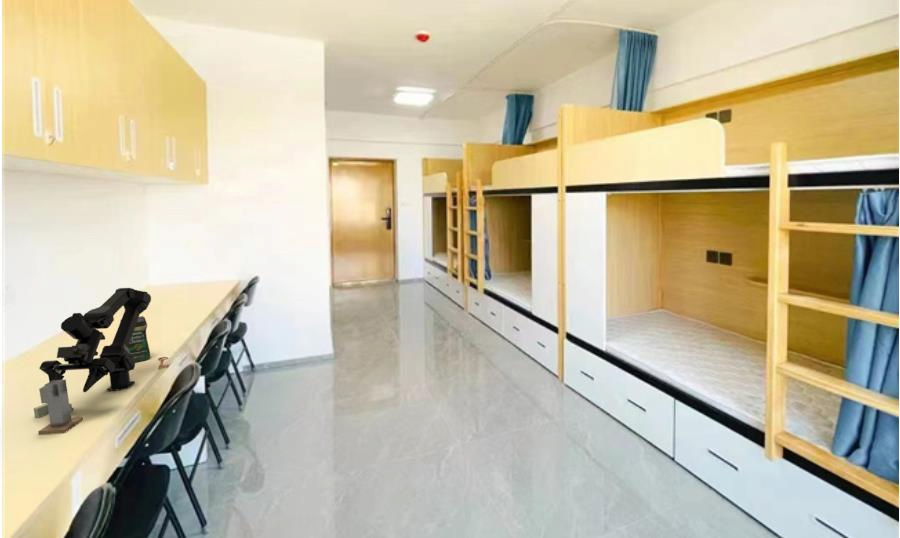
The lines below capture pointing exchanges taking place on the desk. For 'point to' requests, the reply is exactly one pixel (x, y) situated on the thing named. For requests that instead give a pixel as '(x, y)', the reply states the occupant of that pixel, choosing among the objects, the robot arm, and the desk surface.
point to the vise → (45, 410)
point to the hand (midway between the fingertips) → (67, 392)
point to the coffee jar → (139, 342)
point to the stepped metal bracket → (56, 402)
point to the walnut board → (60, 429)
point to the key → (162, 363)
